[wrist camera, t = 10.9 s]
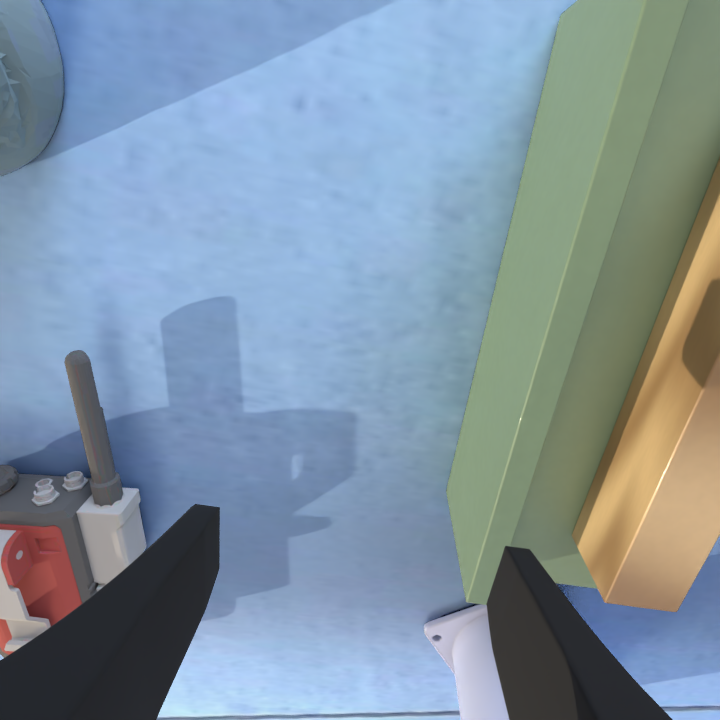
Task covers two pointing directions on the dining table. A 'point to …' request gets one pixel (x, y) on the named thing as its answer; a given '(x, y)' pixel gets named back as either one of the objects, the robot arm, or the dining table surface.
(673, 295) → the stick
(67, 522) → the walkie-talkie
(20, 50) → the embossed green cup
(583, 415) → the shelf
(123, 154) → the dining table surface
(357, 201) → the dining table surface
